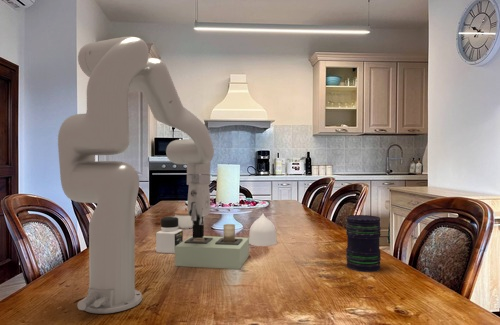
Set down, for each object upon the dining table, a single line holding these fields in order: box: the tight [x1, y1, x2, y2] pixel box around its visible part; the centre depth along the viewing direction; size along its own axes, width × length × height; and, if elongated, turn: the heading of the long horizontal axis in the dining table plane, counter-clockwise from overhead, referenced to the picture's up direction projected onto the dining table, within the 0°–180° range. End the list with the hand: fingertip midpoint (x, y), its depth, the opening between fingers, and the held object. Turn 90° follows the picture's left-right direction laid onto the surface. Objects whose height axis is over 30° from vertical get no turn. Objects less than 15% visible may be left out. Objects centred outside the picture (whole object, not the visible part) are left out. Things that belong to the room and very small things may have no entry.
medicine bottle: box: [155, 216, 184, 254], centre depth 130 cm, size 7×7×12 cm
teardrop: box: [248, 212, 278, 247], centre depth 142 cm, size 11×11×12 cm
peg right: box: [223, 223, 236, 243], centre depth 116 cm, size 4×4×6 cm
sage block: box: [174, 235, 250, 270], centre depth 117 cm, size 16×20×6 cm
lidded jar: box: [174, 207, 193, 230], centre depth 176 cm, size 11×11×9 cm
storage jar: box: [345, 214, 382, 273], centre depth 109 cm, size 10×10×15 cm
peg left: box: [193, 238, 205, 242], centre depth 118 cm, size 4×4×6 cm
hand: (198, 237), depth 117 cm, fingers closed
